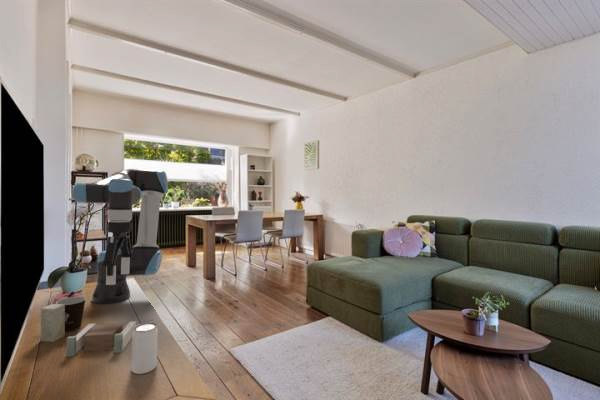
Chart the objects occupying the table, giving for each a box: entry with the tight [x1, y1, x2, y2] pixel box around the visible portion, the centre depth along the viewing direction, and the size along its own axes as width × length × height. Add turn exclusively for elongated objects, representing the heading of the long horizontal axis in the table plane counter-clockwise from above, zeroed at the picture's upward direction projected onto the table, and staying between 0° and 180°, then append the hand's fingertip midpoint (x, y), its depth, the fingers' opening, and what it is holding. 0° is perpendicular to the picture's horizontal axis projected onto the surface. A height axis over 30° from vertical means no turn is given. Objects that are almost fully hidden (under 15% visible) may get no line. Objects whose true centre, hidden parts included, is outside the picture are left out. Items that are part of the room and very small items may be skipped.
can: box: [130, 322, 159, 375], centre depth 84 cm, size 6×6×12 cm
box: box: [40, 303, 66, 343], centre depth 99 cm, size 5×4×11 cm
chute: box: [65, 320, 137, 358], centre depth 97 cm, size 14×15×6 cm
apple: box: [53, 291, 84, 304], centre depth 117 cm, size 10×9×10 cm
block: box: [83, 323, 124, 352], centre depth 97 cm, size 8×8×5 cm
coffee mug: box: [56, 296, 86, 333], centre depth 107 cm, size 12×9×10 cm
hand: (118, 279), depth 107 cm, fingers open, 13 cm apart
